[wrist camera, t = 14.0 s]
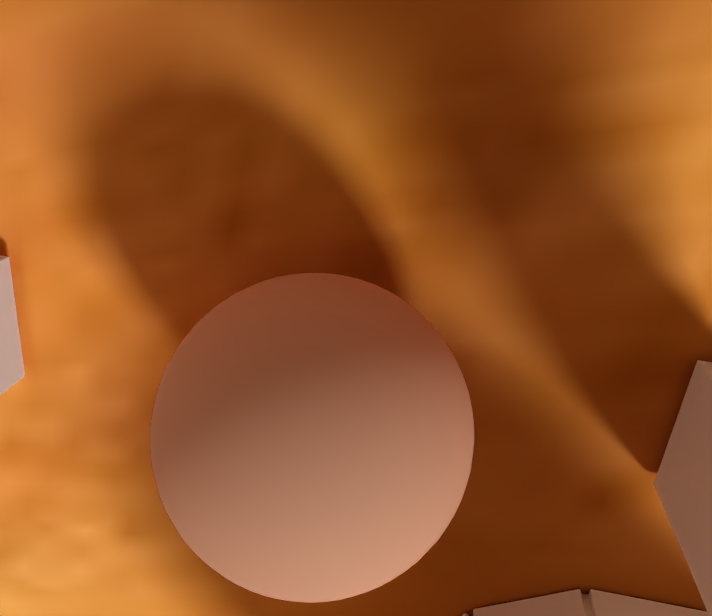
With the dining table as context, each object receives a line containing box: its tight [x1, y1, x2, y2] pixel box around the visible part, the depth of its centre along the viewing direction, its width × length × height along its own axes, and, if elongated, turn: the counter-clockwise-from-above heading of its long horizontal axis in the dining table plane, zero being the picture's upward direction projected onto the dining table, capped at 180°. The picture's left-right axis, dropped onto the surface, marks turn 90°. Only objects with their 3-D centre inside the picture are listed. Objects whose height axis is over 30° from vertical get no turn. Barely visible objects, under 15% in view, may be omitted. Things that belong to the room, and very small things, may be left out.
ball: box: [150, 273, 474, 603], centre depth 10 cm, size 5×5×5 cm
